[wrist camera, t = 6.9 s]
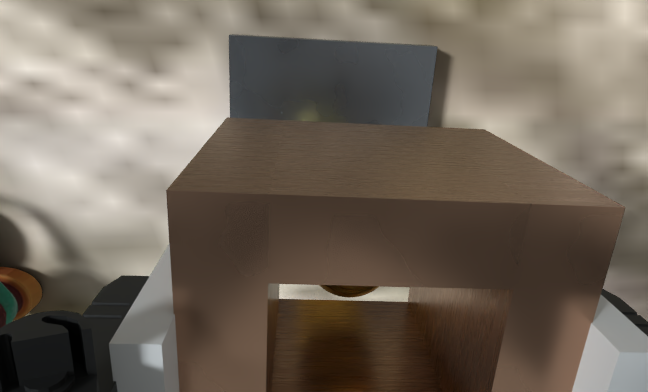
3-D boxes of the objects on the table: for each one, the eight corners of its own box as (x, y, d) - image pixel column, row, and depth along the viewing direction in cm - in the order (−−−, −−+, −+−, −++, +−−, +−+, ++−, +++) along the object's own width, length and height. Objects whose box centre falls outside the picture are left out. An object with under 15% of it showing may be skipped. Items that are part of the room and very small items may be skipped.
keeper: (232, 34, 21) (151, 51, 10) (431, 45, 22) (580, 73, 10) (234, 238, 24) (177, 430, 13) (406, 243, 25) (496, 430, 14)
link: (227, 117, 13) (166, 190, 7) (484, 129, 13) (625, 206, 7) (229, 339, 15) (186, 529, 9) (448, 343, 15) (534, 527, 10)
